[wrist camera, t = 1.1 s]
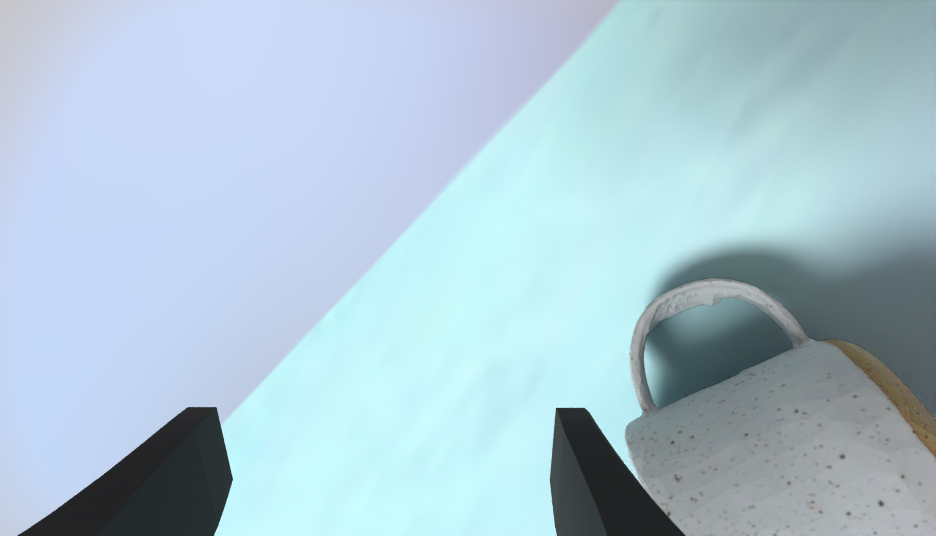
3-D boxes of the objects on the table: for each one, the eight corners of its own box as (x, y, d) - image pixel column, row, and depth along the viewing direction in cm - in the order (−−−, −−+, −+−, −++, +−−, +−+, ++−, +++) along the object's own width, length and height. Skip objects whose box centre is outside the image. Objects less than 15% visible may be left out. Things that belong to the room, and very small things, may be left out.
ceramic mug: (926, 472, 22) (1084, 615, 14) (720, 562, 24) (765, 726, 17) (764, 228, 22) (838, 246, 15) (575, 338, 24) (557, 402, 17)
